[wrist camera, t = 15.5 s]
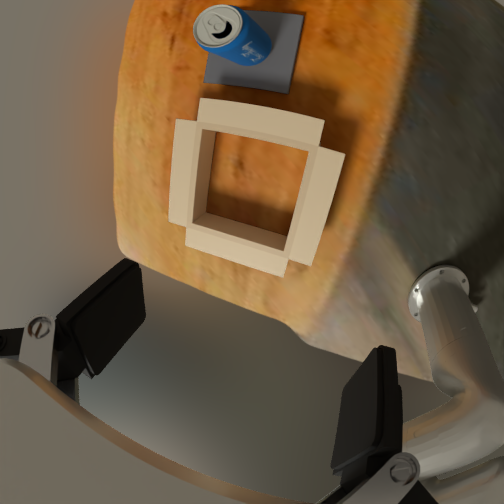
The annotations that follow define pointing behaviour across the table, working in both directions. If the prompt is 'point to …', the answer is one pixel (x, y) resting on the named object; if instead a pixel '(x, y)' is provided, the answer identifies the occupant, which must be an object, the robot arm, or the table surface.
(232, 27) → the beverage can
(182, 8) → the table surface
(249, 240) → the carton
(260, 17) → the mat
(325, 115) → the table surface
